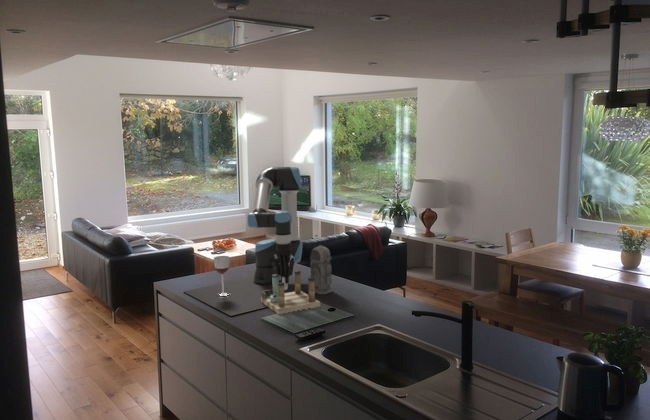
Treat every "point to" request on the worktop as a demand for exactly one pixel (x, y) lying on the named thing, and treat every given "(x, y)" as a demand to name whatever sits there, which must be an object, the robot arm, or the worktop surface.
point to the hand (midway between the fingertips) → (285, 289)
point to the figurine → (321, 269)
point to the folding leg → (275, 288)
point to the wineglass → (221, 268)
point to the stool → (292, 297)
